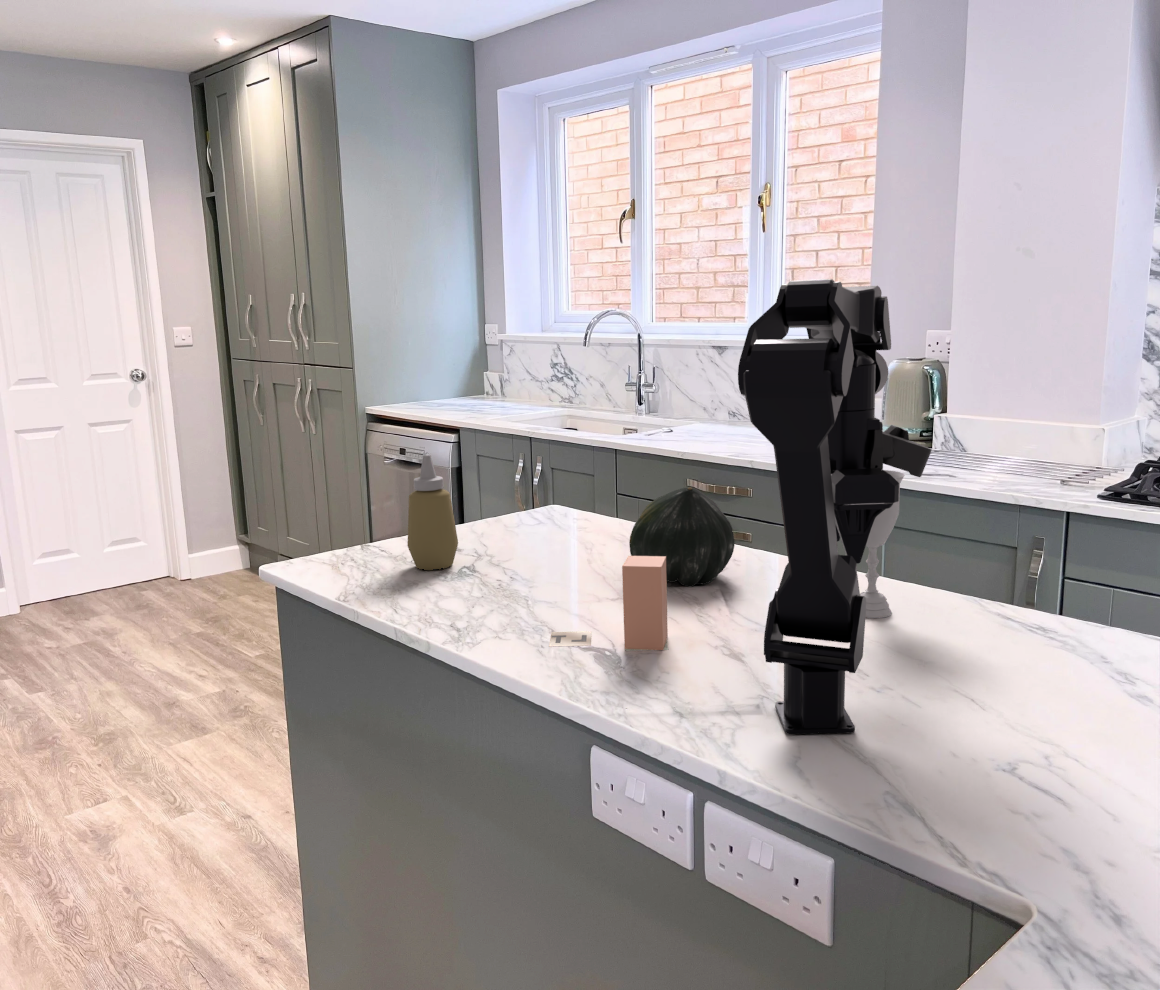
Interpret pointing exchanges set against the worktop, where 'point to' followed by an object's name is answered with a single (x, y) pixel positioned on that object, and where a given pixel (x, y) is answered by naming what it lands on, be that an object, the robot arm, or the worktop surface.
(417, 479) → the squeeze bottle
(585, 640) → the walnut board
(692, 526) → the squash
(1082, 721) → the worktop surface
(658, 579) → the terracotta block
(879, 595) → the chalice
